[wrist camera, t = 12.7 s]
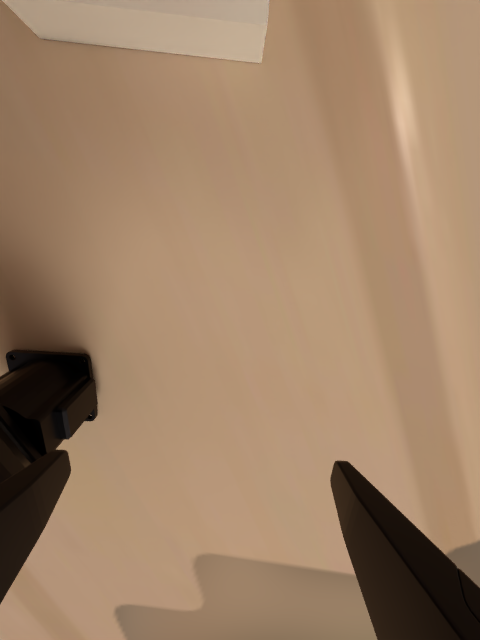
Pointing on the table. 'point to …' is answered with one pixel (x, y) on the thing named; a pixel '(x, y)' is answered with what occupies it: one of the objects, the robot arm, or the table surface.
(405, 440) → the table surface
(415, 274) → the table surface
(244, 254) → the table surface
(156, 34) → the tray
